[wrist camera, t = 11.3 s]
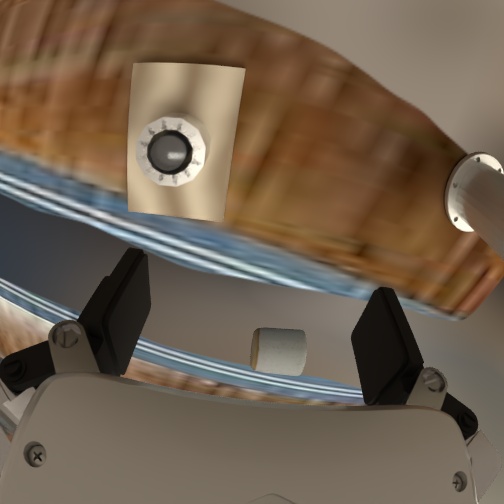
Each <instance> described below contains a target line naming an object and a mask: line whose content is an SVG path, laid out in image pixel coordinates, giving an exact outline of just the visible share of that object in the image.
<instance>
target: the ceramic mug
mask: <svg viewBox="0 0 504 504" xmlns="http://www.w3.org/2000/svg"><path fill="white" fill-rule="evenodd" d="M306 353H307V342H306V335H305V332H304V331H303V330H293V329H276V328H258V329H256V330H255V331H254V334H253V339H252V346H251V356H250V366H251V368H252V369H253V370H256V371H260V372H265V373H276V374H284V375H293V376H299V375H300V374H301V373H302V371H303V368H304V365H305V360H306Z"/></svg>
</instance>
